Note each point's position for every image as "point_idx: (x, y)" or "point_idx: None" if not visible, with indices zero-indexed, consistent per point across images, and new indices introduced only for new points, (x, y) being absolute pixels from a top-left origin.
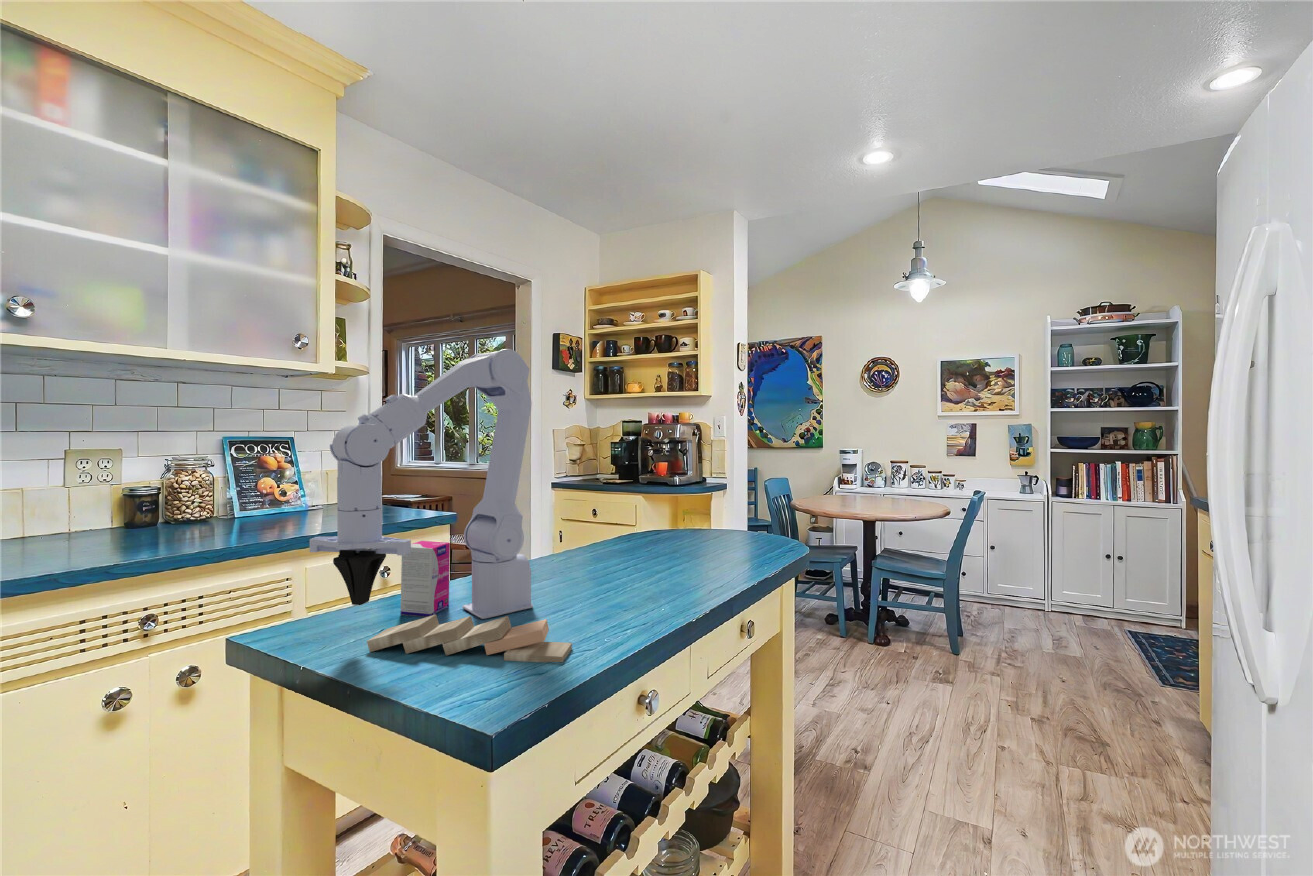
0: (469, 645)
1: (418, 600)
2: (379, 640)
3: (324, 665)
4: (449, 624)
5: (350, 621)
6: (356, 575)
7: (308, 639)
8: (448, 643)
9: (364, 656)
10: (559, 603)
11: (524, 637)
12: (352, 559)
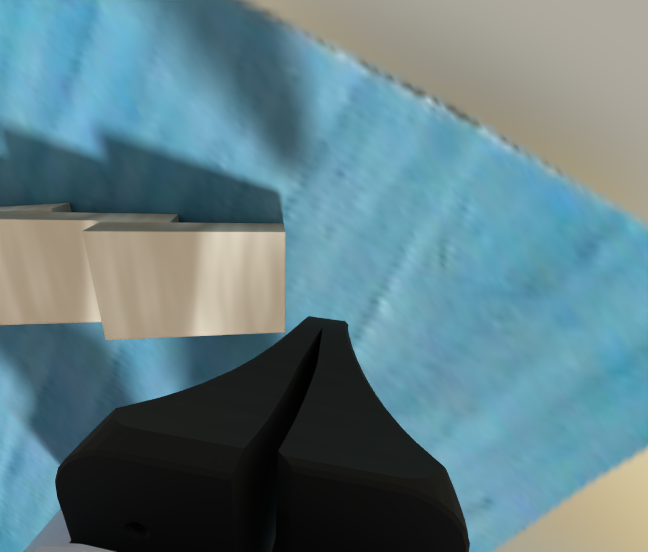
0: None
1: None
2: (240, 228)
3: (360, 112)
4: (51, 289)
5: (468, 440)
6: (261, 384)
7: (528, 315)
8: (33, 209)
9: (280, 191)
10: (41, 503)
11: None
12: (189, 455)
